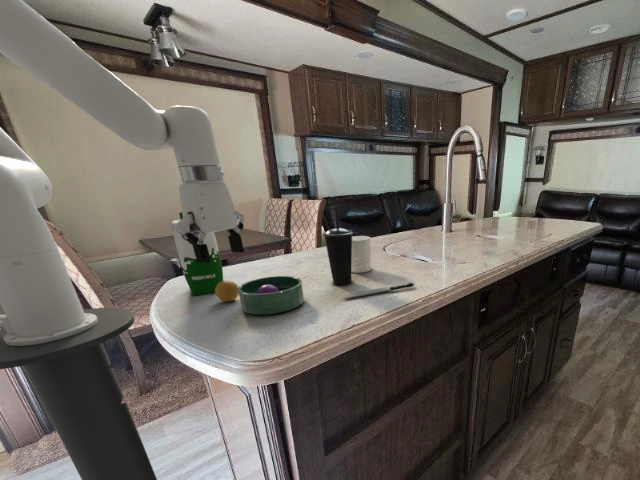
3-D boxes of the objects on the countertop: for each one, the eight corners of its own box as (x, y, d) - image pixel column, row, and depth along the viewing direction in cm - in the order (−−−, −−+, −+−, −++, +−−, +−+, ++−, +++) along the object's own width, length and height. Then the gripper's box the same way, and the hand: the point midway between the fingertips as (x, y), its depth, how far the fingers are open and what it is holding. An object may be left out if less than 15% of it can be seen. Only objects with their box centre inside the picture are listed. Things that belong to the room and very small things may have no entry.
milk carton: (188, 297, 78) (165, 214, 71) (189, 288, 85) (168, 211, 78) (228, 290, 82) (210, 211, 75) (225, 282, 89) (208, 209, 82)
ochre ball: (214, 305, 72) (209, 285, 71) (221, 298, 77) (216, 278, 75) (238, 303, 73) (233, 283, 72) (243, 296, 78) (239, 277, 76)
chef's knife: (339, 296, 77) (343, 300, 74) (339, 292, 76) (342, 295, 74) (409, 284, 84) (414, 287, 82) (409, 280, 84) (414, 282, 81)
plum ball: (264, 312, 70) (253, 306, 66) (260, 292, 72) (250, 284, 67) (285, 306, 70) (276, 300, 66) (282, 286, 72) (273, 278, 67)
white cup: (361, 274, 94) (359, 241, 90) (341, 271, 98) (339, 239, 94) (377, 268, 100) (375, 237, 97) (357, 265, 104) (355, 235, 101)
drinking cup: (355, 277, 91) (350, 205, 84) (357, 285, 84) (352, 208, 77) (328, 280, 90) (320, 206, 83) (328, 288, 83) (320, 209, 76)
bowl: (235, 320, 65) (230, 297, 63) (249, 298, 77) (245, 278, 75) (302, 313, 67) (299, 291, 65) (305, 293, 79) (303, 274, 77)
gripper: (220, 176, 74) (237, 248, 80) (147, 177, 59) (174, 266, 65) (246, 175, 72) (261, 249, 78) (178, 176, 57) (203, 268, 63)
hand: (222, 257), depth 72 cm, fingers open, 9 cm apart
